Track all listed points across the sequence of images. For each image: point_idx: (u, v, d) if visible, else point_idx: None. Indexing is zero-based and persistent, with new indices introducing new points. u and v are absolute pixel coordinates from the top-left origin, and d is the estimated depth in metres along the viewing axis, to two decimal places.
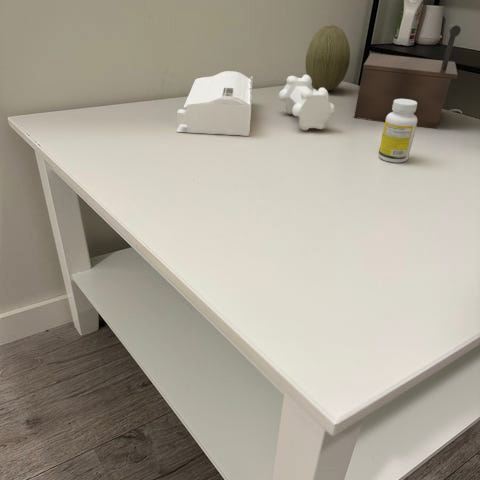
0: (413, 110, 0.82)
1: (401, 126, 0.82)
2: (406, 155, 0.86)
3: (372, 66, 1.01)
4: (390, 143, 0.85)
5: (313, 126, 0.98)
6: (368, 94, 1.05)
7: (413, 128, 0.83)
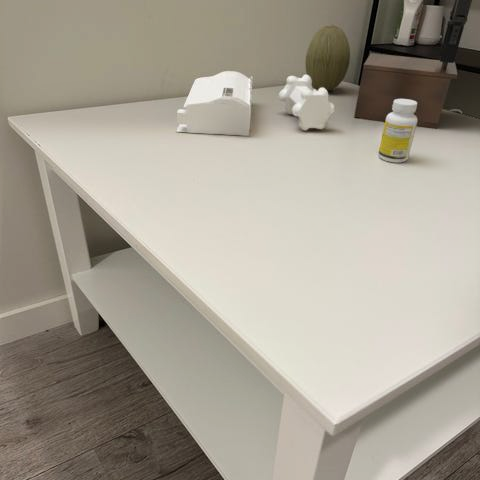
0: (413, 110, 0.82)
1: (401, 126, 0.82)
2: (406, 155, 0.86)
3: (372, 66, 1.01)
4: (390, 143, 0.85)
5: (313, 126, 0.98)
6: (368, 94, 1.05)
7: (413, 128, 0.83)
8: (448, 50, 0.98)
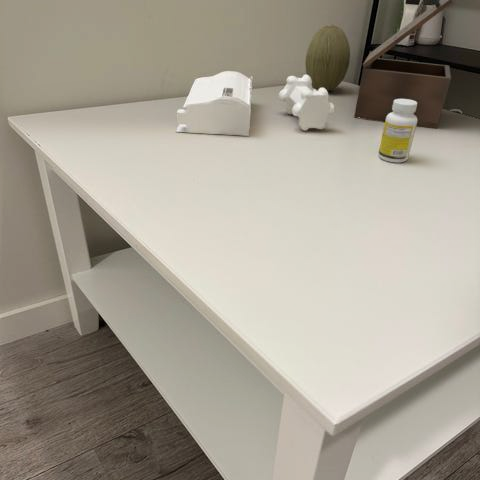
0: (413, 110, 0.82)
1: (401, 126, 0.82)
2: (406, 155, 0.86)
3: (370, 59, 1.01)
4: (390, 143, 0.85)
5: (313, 126, 0.98)
6: (368, 94, 1.05)
7: (413, 128, 0.83)
8: None
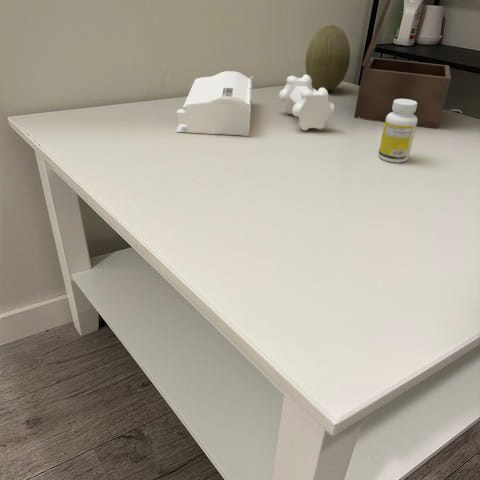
0: (413, 110, 0.82)
1: (401, 126, 0.82)
2: (406, 155, 0.86)
3: (366, 56, 1.01)
4: (390, 143, 0.85)
5: (313, 126, 0.98)
6: (368, 94, 1.05)
7: (413, 128, 0.83)
8: None
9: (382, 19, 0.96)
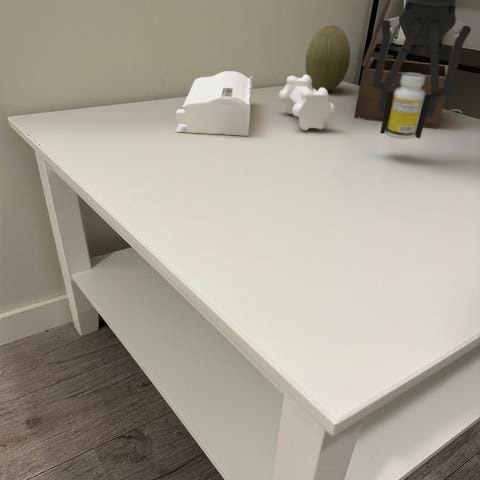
0: (421, 83, 0.79)
1: (409, 101, 0.80)
2: (414, 131, 0.83)
3: (366, 56, 1.01)
4: (398, 118, 0.82)
5: (313, 126, 0.98)
6: (368, 94, 1.05)
7: (421, 102, 0.81)
8: None
9: (382, 19, 0.96)
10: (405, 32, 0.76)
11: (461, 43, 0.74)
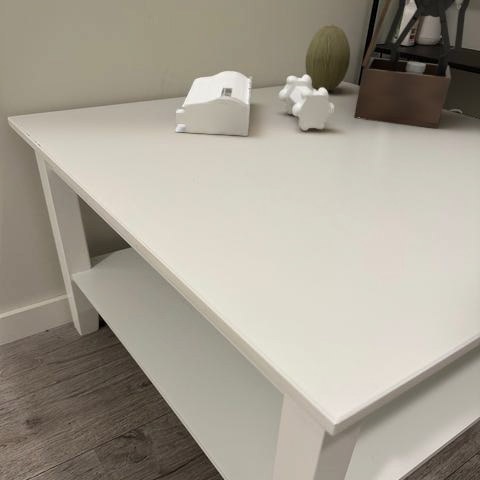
0: (422, 70, 1.04)
1: None
2: None
3: (366, 56, 1.01)
4: None
5: (313, 126, 0.98)
6: (368, 94, 1.05)
7: None
8: None
9: (382, 19, 0.96)
10: (417, 6, 0.98)
11: (463, 12, 0.96)
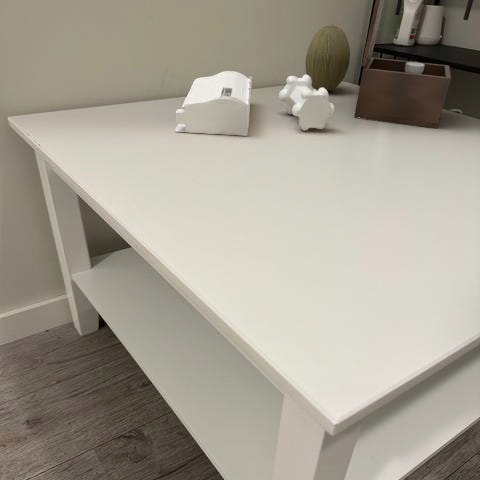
0: (421, 70, 1.04)
1: None
2: None
3: (364, 56, 1.01)
4: None
5: (313, 126, 0.98)
6: (368, 94, 1.05)
7: None
8: None
9: (374, 17, 0.96)
10: None
11: None
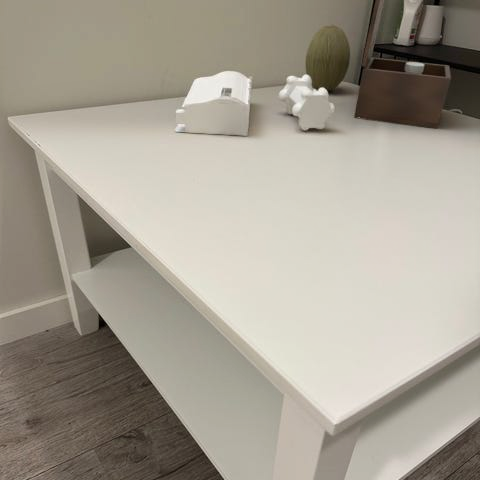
0: (421, 70, 1.04)
1: None
2: None
3: (364, 56, 1.01)
4: None
5: (313, 126, 0.98)
6: (368, 94, 1.05)
7: None
8: None
9: (374, 17, 0.96)
10: None
11: None
